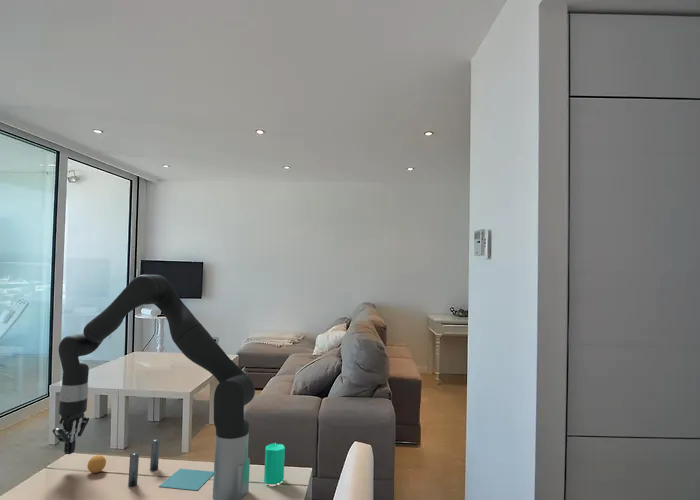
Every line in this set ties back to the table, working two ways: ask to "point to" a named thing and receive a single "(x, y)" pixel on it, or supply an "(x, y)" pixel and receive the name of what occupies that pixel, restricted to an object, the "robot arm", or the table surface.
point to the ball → (96, 464)
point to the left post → (133, 469)
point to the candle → (274, 463)
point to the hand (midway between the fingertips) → (69, 453)
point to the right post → (154, 454)
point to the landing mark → (187, 479)
